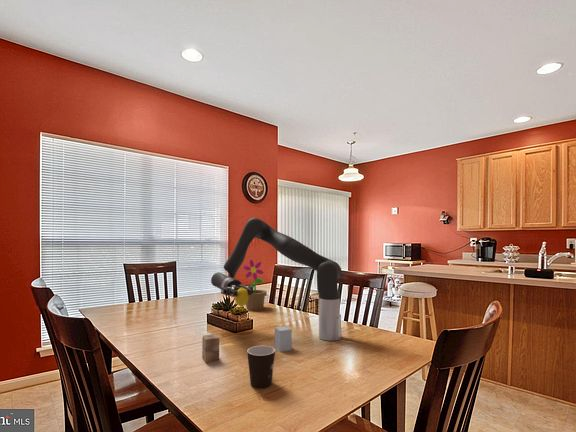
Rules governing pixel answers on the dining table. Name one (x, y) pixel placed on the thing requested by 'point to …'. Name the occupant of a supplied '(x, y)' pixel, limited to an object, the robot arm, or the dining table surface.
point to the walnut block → (210, 348)
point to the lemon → (242, 297)
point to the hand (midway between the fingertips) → (243, 293)
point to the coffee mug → (261, 365)
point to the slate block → (283, 338)
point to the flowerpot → (257, 296)
